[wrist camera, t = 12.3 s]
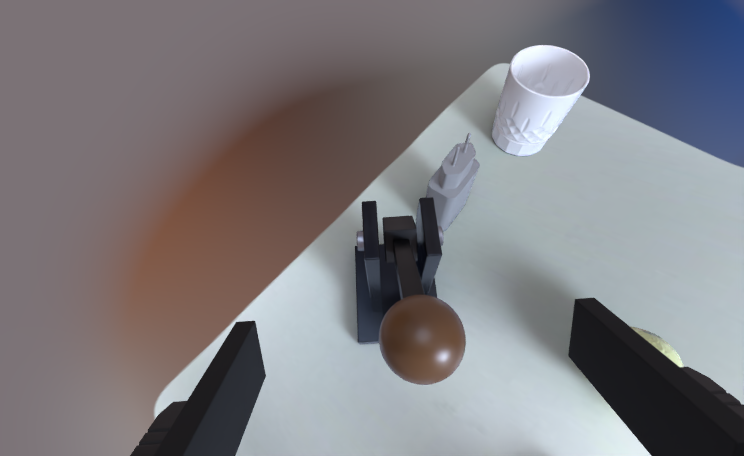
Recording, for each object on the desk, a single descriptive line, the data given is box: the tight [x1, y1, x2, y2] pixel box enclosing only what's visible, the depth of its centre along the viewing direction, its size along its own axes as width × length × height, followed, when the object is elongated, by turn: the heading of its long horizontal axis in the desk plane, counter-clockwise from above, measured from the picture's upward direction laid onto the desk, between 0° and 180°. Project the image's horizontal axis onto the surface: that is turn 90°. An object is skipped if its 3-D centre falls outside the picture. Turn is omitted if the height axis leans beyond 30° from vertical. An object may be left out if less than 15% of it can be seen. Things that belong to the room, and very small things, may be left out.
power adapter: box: [426, 133, 480, 232], centre depth 36 cm, size 3×5×12 cm, turn 142°
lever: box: [379, 216, 466, 385], centre depth 20 cm, size 14×4×4 cm
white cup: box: [492, 45, 590, 156], centre depth 41 cm, size 8×8×10 cm
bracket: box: [355, 197, 443, 344], centre depth 30 cm, size 10×8×15 cm
